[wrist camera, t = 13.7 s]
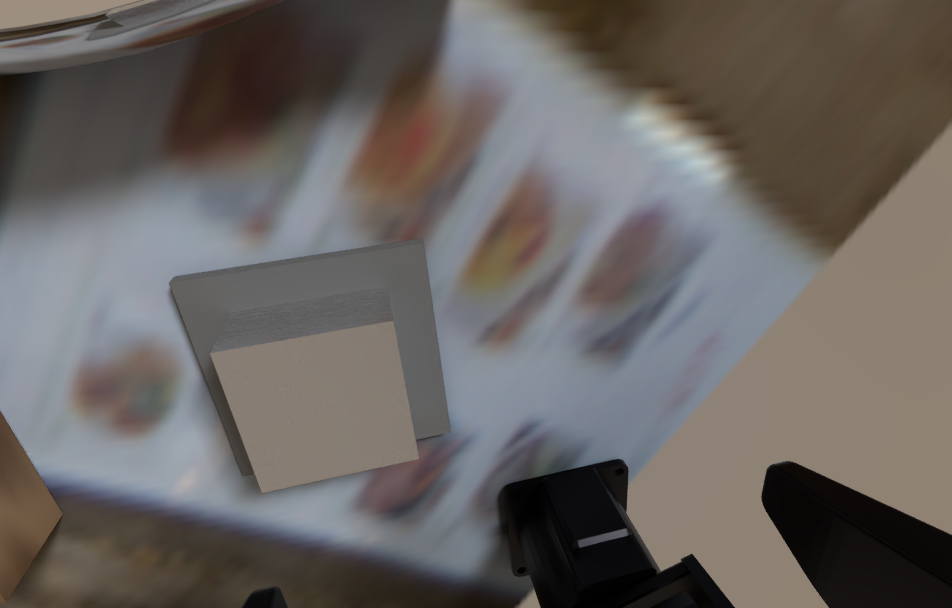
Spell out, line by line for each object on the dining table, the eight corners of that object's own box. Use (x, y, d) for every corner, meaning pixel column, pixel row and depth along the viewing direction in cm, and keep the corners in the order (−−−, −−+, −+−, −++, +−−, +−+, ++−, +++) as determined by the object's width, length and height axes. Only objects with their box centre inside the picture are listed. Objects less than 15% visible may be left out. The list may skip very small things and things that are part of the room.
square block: (411, 411, 23) (418, 459, 20) (273, 440, 22) (261, 492, 19) (388, 285, 20) (393, 320, 17) (230, 312, 19) (209, 353, 16)
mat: (448, 424, 24) (450, 432, 24) (245, 466, 23) (242, 476, 22) (422, 238, 20) (423, 243, 20) (174, 276, 19) (169, 283, 18)
